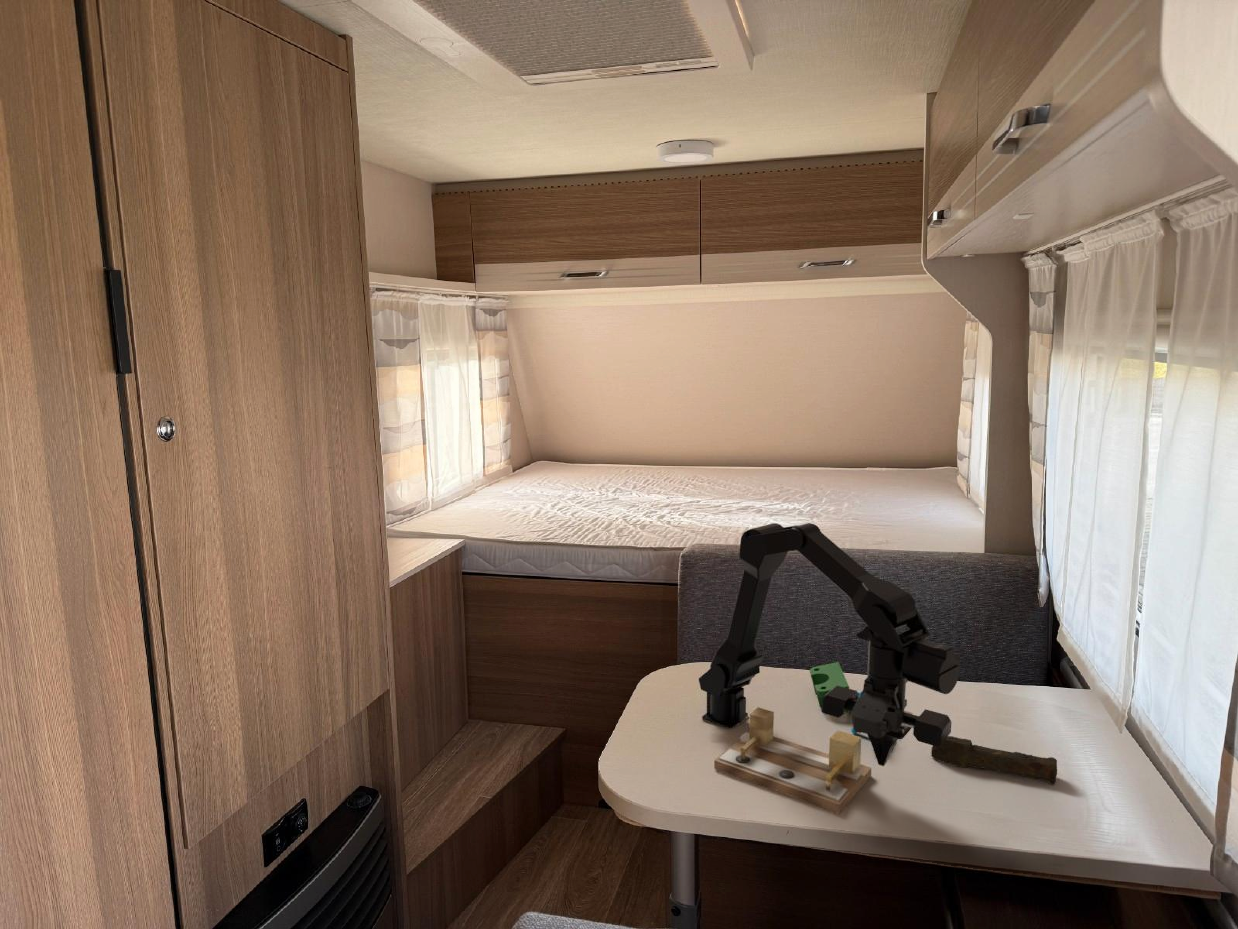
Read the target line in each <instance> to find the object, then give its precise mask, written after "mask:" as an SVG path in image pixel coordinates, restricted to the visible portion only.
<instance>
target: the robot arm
mask: <svg viewBox="0 0 1238 929" xmlns="http://www.w3.org/2000/svg"><path fill="white" fill-rule="evenodd" d="M792 551H796V552H798V554H800V555H802V556H803V557H804V558H805V559H806V560H807V561H808V562H809V563H810V564H812V566H814V567H815V568H816V569H817V570H818V571H819V572H821V573H822V574H823V575H824V576H825V577H826V578H827V579H829V580H830V582H832V583H833V584H834V585H835V586H836V587H837V588H839V589H840V591H842V592H843V593H844V594H845V595H846V596H847V597H848V598H849V599H850V601H851V602H852V605H853V607H854V610H855V614H857V616H858V617H859V618H860V620H861V621H863V623H864V624H865V625H866V626H865V627H864V628H862V629H861V630H860V631H858V632H856V635H855V636H856V638H857V639H860V640H864V641H866V642H868V652H867V656H868V657H867V676H866V678H865V679H864V682H863V688H862V693H861V696H860V697H859V694H858V693H859V692H858V690H856V689H852V688H849V689H848V688H845V687H841V686H836V687H834V688H833V689H832V690H831V691H829V692H828V693H827V694H826V695H825V696H824V697H823V699H822V705H821V708H820V709H821V710H820V711H821V713H822V714H824V715H827V716H831V717H834V718H840V717H842V716H843V715H844V714H845V713H846V712H845V709H848V710H851V711H850V714H851V722H852V728H853V729H854V730H855V731H856V732H857V733H859V734H861V733H863V734H866V735H867V736H868V739H869V741H870V744H871V746H872V748H873V752H874V755H875V758H876V761H877V763H878V764H877V765H878V766H880V767H884V766H885V765H886V764H887V762H888V760H889V757H890V756H891V753H892V752H893V749H894V748H895V746H896V744H897V741H898V740H903V739H904V738H905V737H906V736H907V735H908V734H909V732H910V731H911V729H913V731H912V735H913V736H914V737H915V739H916V741H918V742H920V743H924V744H927V745H929V746H941V745H942V743H943V742H944V741H945V739H946V738H947V737H948V736H950V734H951V733H952V720H951V719H950V717H949V715H948V714H945V713H940V712H937V711H934V710H929V709H924V710H923V712H921V714H920V715H916V714H913V712H911V711H907V710H905V708H906V707H907V705H908V699H906V690H907V687H906V686H907V683H908V682H910V683H912V684H915V685H918V686H921V687H924V688H926V689H929V690H933V691H935V692H937V693H940V694H942V695H949V694H950V693H951V692H952V691H953V690H954V688H955V687H956V685H957V683H958V680H959V678H960V671H961V665H959V660H958V658H957V656H955V655H954V648H953V647H952V646H950V645H946V644H940V643H937V642H933V641H930V640H927V639H928V638H930V637H931V633H930V632H929V630H928V628H927V626H926V624H925V622H924V621H923V619H922V616H921V615H920V613H919V611H918V610H917V608H916V605H915V604H916V601H915V599H914V598H913V596H912V595H911V594H910V593H909V592H907V591H906V590H904V589H903V588H901V587H900V586H898V585H896V584H894V583H893V582H891V581H888V580H885V579H881V578H879V577H876V576H874V575H872V574H871V573H870V572H869V571H867V570H866V569H865V568H863V567H862V566H861V564H859V563H858V562H857V561H855V560H854V559H853V558H852V557H851V556H850V555H849V554H847V553H846V552H845V551H844V550H843V549H841V548H840V547H839V546H838V545H837V544H836V543H834V542H833V541H832V540H831V539H830V538H829V537H827V536H826V535H825V534H824V533H822V531H821V528H819V527H818V525H816V524H814V523H810V522H807V523H804V524H800V525H791V526H785V527H784V526H783V525H781V524H779V523H776V522H773V523H769V524H765V525H761V526H757V527H753V528H750V529H747V530H746V531H744V532H742V535H741V537H740V542H739V554H738V558H739V560H740V563H741V566H742V568H743V573H742V577H741V580H740V585H739V589H738V593H737V597H736V601H735V605H734V609H733V612H732V613H733V614H732V618H731V621H730V625H729V630H728V634H727V637H726V639H725V640H724V641H723V643H722V644H721V645H720V646H719V648H717V650H716V651H715V653H714V655H713V657H712V660H711V663H710V665H709V666H710V667H709V669H708V670H707V671H706V672H704V674H702V675H701V676H700V677H698V682H699V688H700V690H701V691H703V692H704V693H705V692H706V713H704V714H703V715H702V716H701V719H702V720H703V721H706V722H709V723H713V724H715V725H718V726H721V727H725V728H728V729H733V728H735V727H736V726H737V725H739V724H740V723H741V722H742V721H743V720H745V719H746V718H747V717H748V716H749V714H748V712H747V699H746V698H747V697H746V696H745V688H744V687H745V686H749V685H750V684H751V682H752V679H754V677H755V676H756V675H758V674H760V673H761V672H760V671H761V670H760V669H761V668H760V666H761V663H762V661H763V658H764V657H763V655H762V654H761V653H759V652H758V650H757V648H756V645H755V643H756V642H755V641H756V637H757V634H758V630H759V626H760V622H761V619H762V615H763V611H764V607H765V604H766V599H767V595H768V592H769V587H770V583H771V580H772V577H773V575H774V574H775V573H776V571H777V570H778V569H779V567H781V566H782V564H783V563H784V561H785V559H786V557H787V555H788V552H792ZM904 627H907V628H908V630H905V631H903V632H902V633H900V634H899V633H898V632H897V630H900V629H902V628H904ZM858 697H859V699H858Z"/></svg>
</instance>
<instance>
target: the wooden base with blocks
mask: <svg viewBox="0 0 1238 929" xmlns="http://www.w3.org/2000/svg"><path fill="white" fill-rule="evenodd" d="M774 715H775V711H772V710H769V709H765V708H762V707H756V708H755V709H754V710H753V711H751V712H750V713H749V731H748V732H747V731H745V732H744V733H742V735H740V739H738V740H737V741H736V742H735V743H733V744H732V745H731V746H730V747H729V748H727V749H726V750H725V751H724V752H722V753H721V754H720V755H718V757H716V758H715V759H714V762H713V763H714V765H713V767H714V770H717V771H721V772H723V773H726V774H729V775H731V774H732V775H731V776H733V777H737V778H739V777H740V778H739V779H743V780H745V781H748V782H750V781H751V783H753V782H754V784H756V785H759V786H762V787H764V788H767V787H768V788H767V789H770V788H771V789H770V790H772V789H773V790H772V791H775V790H777V791H776V792H778V791H779V792H778V793H781V792H782V793H781V794H785V795H786V794H788V795H787V796H789V795H790V797H792V798H795V797H796V798H795V799H797V798H798V800H800V799H801V800H800V801H803V802H806V803H809V804H811V803H812V804H811V805H814V804H815V806H816V807H817V806H818V807H821V808H823V809H826V810H828V811H831V812H834V813H837V814H840V813H841V812H842V811H843V810H844V809H845V808H846V806H847V805H848V804H849V803H850V802H851V801H852V799H853V798H854V797H855V796H856V795H857V793H858V792H859V791H860V790H861V789H862V787H863V786H864V785H865V784H866V783H867V782H868V781H869V779H870V778H871V777H872V767H870V766H868V765H865V764H861V763H860V767H859V768H858V769H857V770H856V771H855V772H854V773H853V775H852V774H849V773H846V772H843V771H841V772H840V773H839V774H838V775H837V776H836V777H835V778H834V779H833V781H832V782H831V788H830V789H826V788H825V780H826V776H827V775H828V774H829V772H830V771H831V770H832V769H833V768H831V767H829V753H827V752H823V751H820V750H818V749H814V748H812V747H811V748H810V747H807V746H804V745H801V744H799V743H796V742H792V741H790V740H789V741H788V740H786V739H783V738H780V737H776V736H774V727H775V726H774V724H775V723H774V719H775V716H774Z"/></svg>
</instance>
